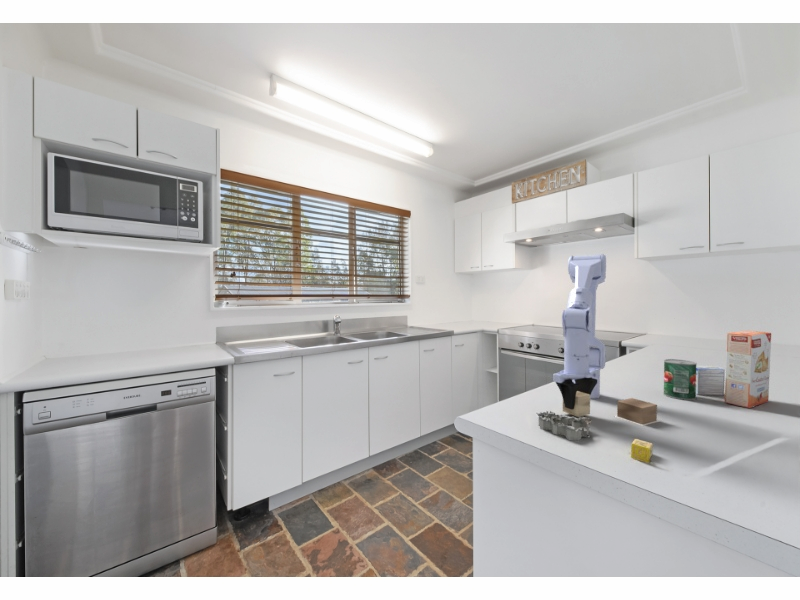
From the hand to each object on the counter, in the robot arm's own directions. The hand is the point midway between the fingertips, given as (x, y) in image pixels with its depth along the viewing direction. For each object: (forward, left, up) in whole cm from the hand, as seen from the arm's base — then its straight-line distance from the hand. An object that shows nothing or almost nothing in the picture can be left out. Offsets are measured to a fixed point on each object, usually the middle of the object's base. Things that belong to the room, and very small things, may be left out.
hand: (576, 406), depth 88 cm
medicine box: (+3, +57, -3) cm, 57 cm away
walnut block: (+8, +12, -2) cm, 15 cm away
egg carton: (+4, -10, -4) cm, 11 cm away
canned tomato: (+1, +46, -3) cm, 46 cm away
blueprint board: (+7, +12, -3) cm, 14 cm away
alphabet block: (+20, -7, -3) cm, 22 cm away
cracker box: (+13, +57, -3) cm, 58 cm away
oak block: (0, 0, -2) cm, 2 cm away
